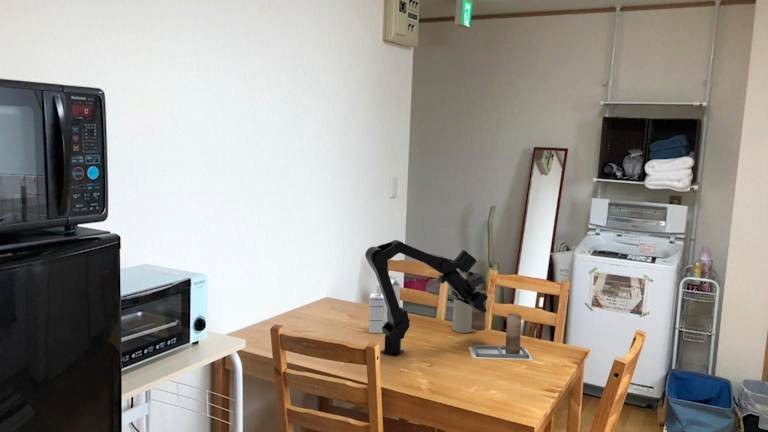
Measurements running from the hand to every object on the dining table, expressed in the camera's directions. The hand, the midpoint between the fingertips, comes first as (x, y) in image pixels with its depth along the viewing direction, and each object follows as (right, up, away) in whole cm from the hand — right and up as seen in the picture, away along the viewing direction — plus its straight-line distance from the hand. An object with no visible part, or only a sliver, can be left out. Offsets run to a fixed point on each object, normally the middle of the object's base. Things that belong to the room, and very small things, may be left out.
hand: (482, 309), depth 237 cm
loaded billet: (+9, -14, -10) cm, 20 cm away
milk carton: (-35, -9, +31) cm, 48 cm away
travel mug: (-5, -11, +19) cm, 23 cm away
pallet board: (+5, -15, -10) cm, 19 cm away
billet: (-2, -7, 0) cm, 7 cm away
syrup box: (-40, -11, +15) cm, 44 cm away
